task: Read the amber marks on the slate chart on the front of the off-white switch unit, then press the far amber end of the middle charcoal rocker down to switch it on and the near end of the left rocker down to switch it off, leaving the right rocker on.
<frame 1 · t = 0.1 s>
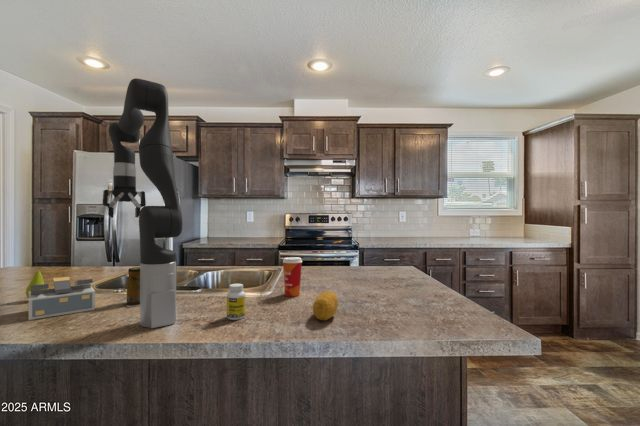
hand: (124, 217, 128), 29 cm above the countertop, tool pointing down, fingers open, 8 cm apart
switch left: (39, 287, 102), point 8 cm above the countertop, hinge at 12.0°
potato: (325, 317, 100), on the countertop
switch middle: (62, 284, 105), point 8 cm above the countertop, hinge at -12.0°
supplement bottle: (236, 318, 99), on the countertop
fruit: (36, 301, 117), on the countertop
switch right: (83, 282, 109), point 8 cm above the countertop, hinge at 12.0°
paper cup: (292, 295, 127), on the countertop
switch unit: (62, 310, 105), on the countertop
condiment: (136, 303, 114), on the countertop
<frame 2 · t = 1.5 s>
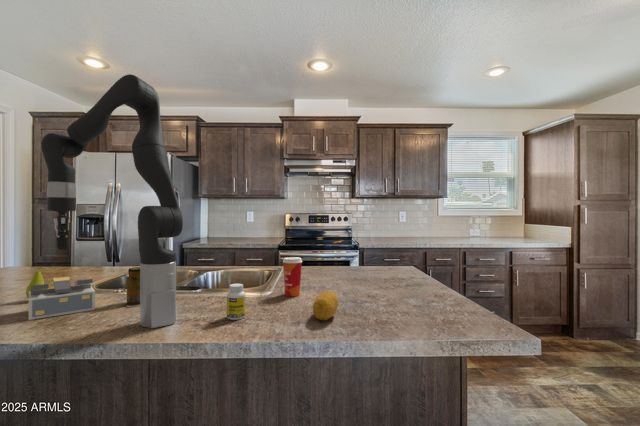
hand: (61, 248, 108), 19 cm above the countertop, tool pointing down, fingers open, 5 cm apart
nothing on the countertop moved.
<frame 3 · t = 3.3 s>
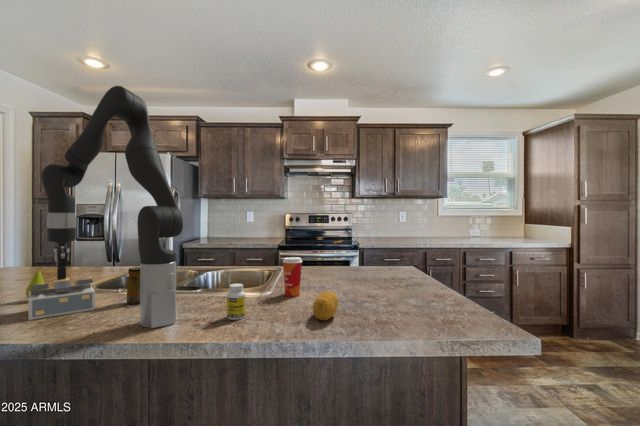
hand: (61, 279, 108), 9 cm above the countertop, tool pointing down, fingers closed
switch middle: (62, 284, 105), point 8 cm above the countertop, hinge at -8.1°, touching gripper
everything else where it was.
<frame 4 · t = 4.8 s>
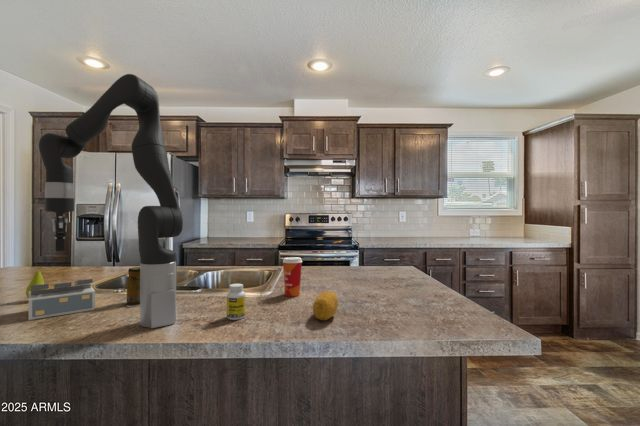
hand: (59, 250, 107), 19 cm above the countertop, tool pointing down, fingers closed
switch middle: (62, 284, 105), point 8 cm above the countertop, hinge at 8.0°
everything else where it was.
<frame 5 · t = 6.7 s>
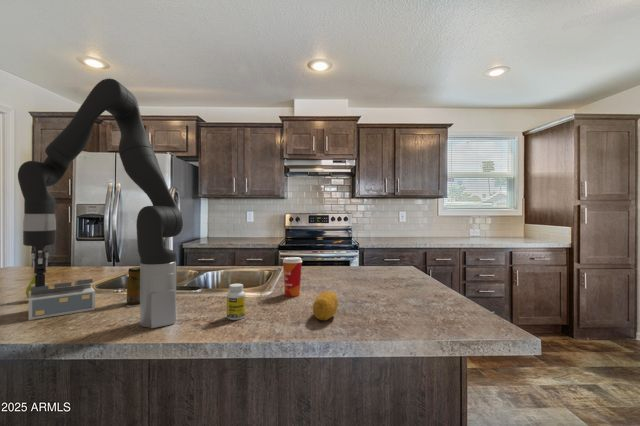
hand: (40, 286, 99), 9 cm above the countertop, tool pointing down, fingers closed
switch left: (39, 287, 102), point 8 cm above the countertop, hinge at 5.5°, touching gripper
switch middle: (62, 284, 105), point 8 cm above the countertop, hinge at 8.6°
everything else where it was.
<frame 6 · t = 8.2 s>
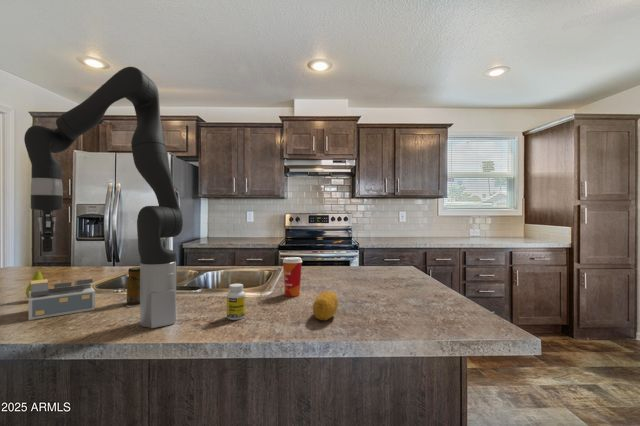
hand: (47, 251, 100), 19 cm above the countertop, tool pointing down, fingers closed
switch left: (39, 287, 102), point 8 cm above the countertop, hinge at -10.2°
everything else where it was.
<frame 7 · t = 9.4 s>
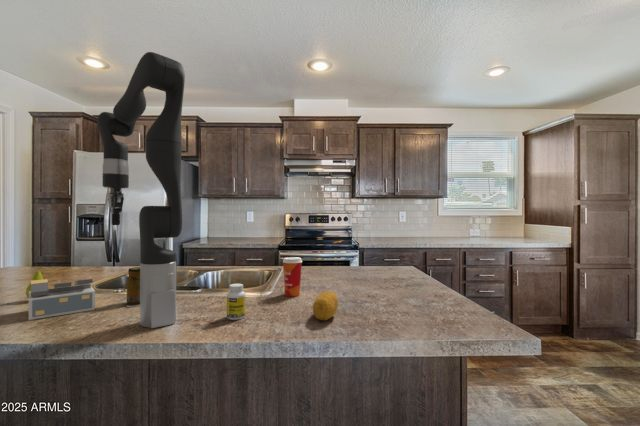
hand: (115, 224, 111), 27 cm above the countertop, tool pointing down, fingers closed
switch left: (39, 287, 102), point 8 cm above the countertop, hinge at -10.7°
everything else where it was.
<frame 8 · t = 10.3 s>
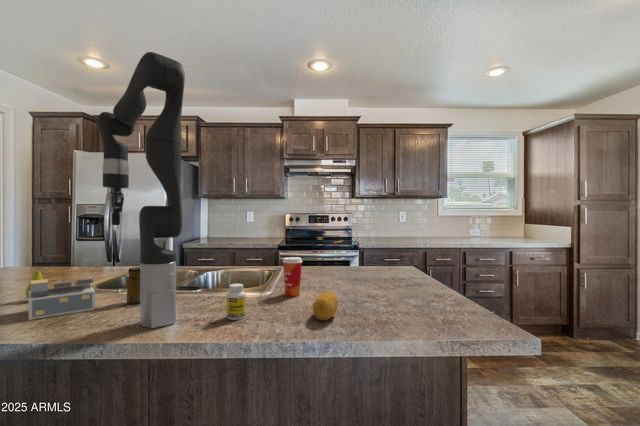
hand: (115, 224, 111), 27 cm above the countertop, tool pointing down, fingers closed
nothing on the countertop moved.
at the end: switch middle at +9° (first picture: -12°); switch left at -11° (first picture: +12°); switch right at +12° (first picture: +12°) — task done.
